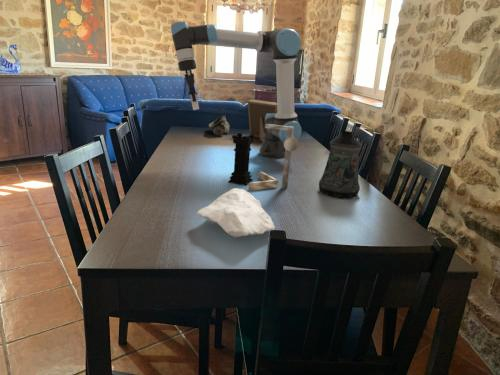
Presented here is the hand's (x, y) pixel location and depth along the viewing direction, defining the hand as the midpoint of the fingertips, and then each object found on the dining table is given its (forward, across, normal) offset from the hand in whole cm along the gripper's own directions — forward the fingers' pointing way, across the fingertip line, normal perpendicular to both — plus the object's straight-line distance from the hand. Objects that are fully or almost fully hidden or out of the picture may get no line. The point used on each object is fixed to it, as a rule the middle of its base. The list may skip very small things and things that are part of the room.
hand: (196, 109), depth 165 cm
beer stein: (+43, +26, +50) cm, 71 cm away
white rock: (+37, +60, +5) cm, 71 cm away
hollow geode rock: (+19, -88, +11) cm, 91 cm away
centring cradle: (+35, +19, +22) cm, 46 cm away
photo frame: (+26, -78, +38) cm, 91 cm away
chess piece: (+33, +17, +12) cm, 39 cm away
